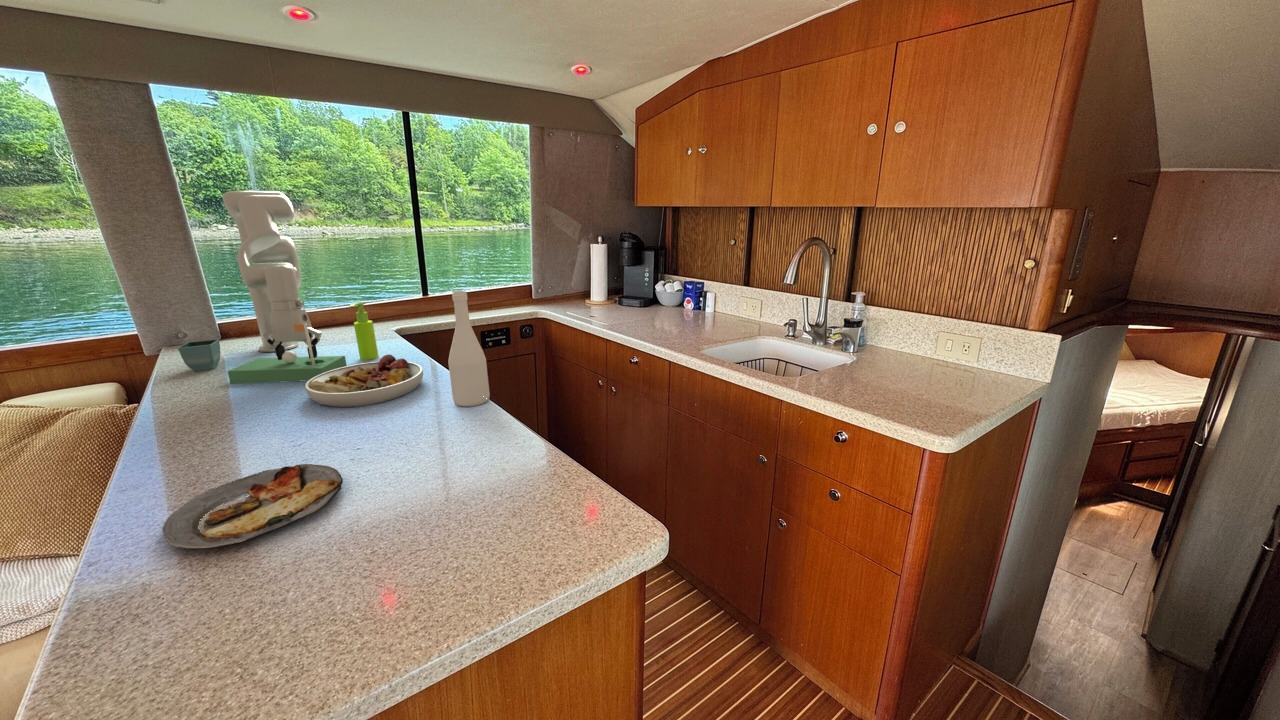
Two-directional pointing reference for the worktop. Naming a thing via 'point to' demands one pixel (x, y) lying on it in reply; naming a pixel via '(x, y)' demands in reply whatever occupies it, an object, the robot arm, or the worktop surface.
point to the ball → (289, 357)
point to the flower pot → (201, 354)
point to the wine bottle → (466, 359)
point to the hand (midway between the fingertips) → (297, 358)
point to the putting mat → (286, 366)
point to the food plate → (253, 505)
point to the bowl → (365, 383)
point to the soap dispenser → (365, 334)
